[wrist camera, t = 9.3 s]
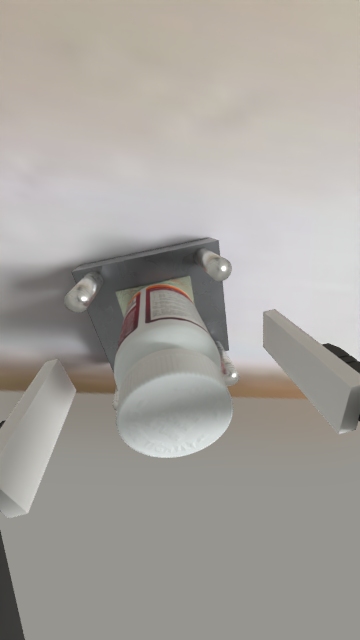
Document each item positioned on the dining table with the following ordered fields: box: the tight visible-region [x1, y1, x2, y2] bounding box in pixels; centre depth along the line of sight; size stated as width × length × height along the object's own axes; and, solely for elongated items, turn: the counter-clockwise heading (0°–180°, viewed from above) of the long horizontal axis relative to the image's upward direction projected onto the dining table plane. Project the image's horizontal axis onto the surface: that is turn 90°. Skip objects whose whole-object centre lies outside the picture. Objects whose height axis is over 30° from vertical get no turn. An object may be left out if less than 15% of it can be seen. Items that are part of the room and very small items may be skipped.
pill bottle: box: [114, 284, 233, 458], centre depth 14 cm, size 6×6×11 cm
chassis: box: [64, 238, 240, 411], centre depth 18 cm, size 11×12×8 cm
